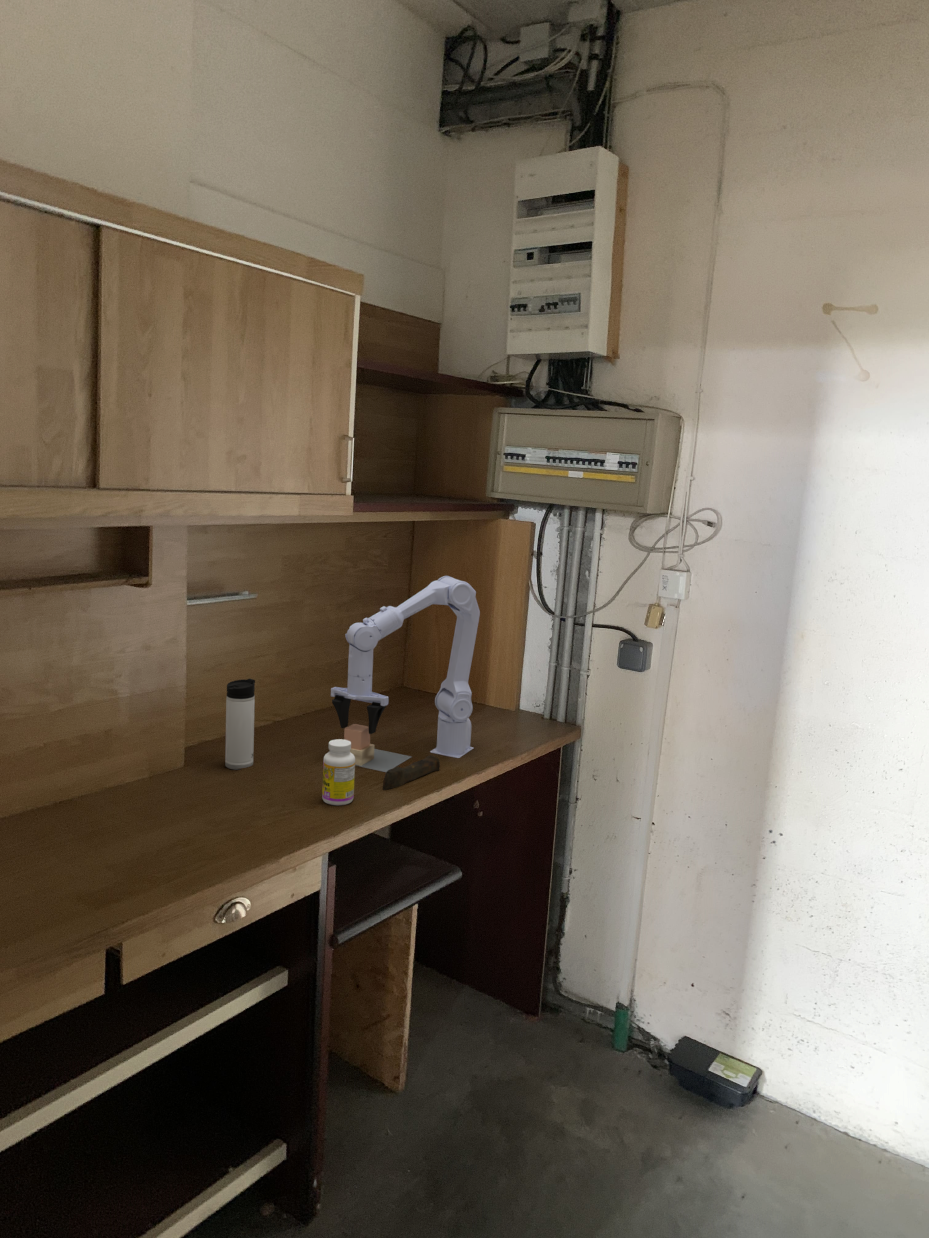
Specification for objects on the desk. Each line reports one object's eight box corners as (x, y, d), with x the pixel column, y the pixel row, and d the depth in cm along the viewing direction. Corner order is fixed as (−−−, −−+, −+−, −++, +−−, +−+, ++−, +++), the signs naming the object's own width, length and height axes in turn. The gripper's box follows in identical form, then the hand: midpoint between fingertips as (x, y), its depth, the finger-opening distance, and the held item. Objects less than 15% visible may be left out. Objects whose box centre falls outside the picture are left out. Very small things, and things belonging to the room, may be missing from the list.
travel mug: (260, 765, 211) (261, 681, 208) (236, 772, 206) (237, 686, 202) (243, 758, 215) (244, 676, 211) (219, 764, 210) (220, 680, 206)
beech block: (352, 753, 221) (352, 740, 221) (373, 758, 219) (374, 744, 219) (339, 760, 216) (339, 746, 215) (361, 765, 214) (361, 751, 213)
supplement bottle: (320, 795, 196) (322, 737, 193) (351, 793, 197) (353, 737, 195) (323, 807, 189) (325, 747, 187) (355, 805, 191) (358, 747, 189)
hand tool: (426, 769, 217) (427, 750, 216) (440, 773, 214) (441, 754, 213) (373, 790, 201) (374, 770, 201) (387, 795, 199) (388, 774, 198)
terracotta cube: (353, 741, 220) (354, 723, 219) (369, 744, 218) (370, 726, 217) (343, 746, 216) (344, 728, 215) (360, 750, 214) (361, 731, 213)
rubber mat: (362, 748, 228) (362, 746, 228) (412, 758, 222) (412, 756, 222) (334, 762, 216) (334, 760, 216) (386, 774, 211) (386, 772, 211)
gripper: (324, 673, 213) (322, 728, 215) (379, 682, 207) (376, 739, 210) (340, 667, 219) (338, 721, 222) (393, 676, 214) (391, 732, 216)
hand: (358, 730), depth 216 cm, fingers open, 7 cm apart
